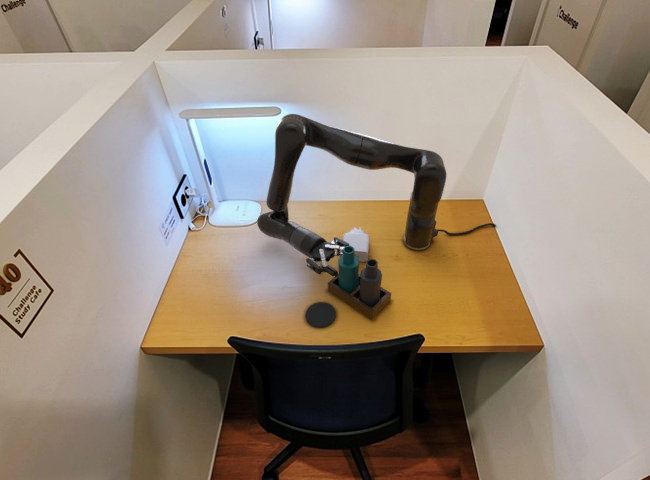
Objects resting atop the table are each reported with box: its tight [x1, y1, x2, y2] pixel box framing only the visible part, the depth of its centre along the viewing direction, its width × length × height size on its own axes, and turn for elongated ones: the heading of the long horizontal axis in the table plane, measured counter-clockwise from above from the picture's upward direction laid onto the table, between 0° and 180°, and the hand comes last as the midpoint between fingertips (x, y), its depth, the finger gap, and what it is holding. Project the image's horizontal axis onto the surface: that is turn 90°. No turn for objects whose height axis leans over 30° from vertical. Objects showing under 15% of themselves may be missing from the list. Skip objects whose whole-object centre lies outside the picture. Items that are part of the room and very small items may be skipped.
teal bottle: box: [337, 246, 360, 294], centre depth 110 cm, size 6×6×18 cm
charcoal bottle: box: [358, 258, 383, 308], centre depth 106 cm, size 6×6×18 cm
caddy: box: [327, 272, 392, 321], centre depth 113 cm, size 9×17×4 cm, turn 49°
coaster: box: [305, 301, 337, 329], centre depth 109 cm, size 9×9×1 cm
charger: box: [340, 226, 370, 263], centre depth 128 cm, size 5×9×15 cm
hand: (346, 266), depth 109 cm, fingers open, 8 cm apart
